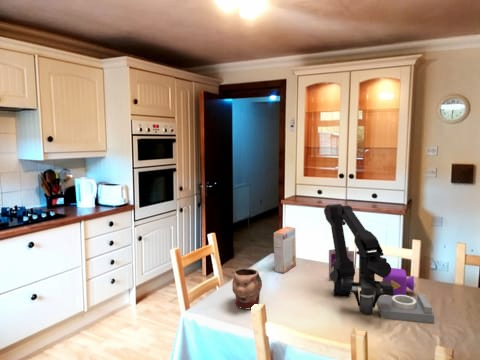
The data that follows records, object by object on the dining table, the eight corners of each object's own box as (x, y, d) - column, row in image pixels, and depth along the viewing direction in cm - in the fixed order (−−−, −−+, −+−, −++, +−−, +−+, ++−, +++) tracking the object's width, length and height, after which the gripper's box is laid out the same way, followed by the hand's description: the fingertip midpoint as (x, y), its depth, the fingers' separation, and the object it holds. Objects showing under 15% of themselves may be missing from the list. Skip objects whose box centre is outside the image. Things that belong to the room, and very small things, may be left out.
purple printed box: (328, 281, 171) (328, 250, 170) (328, 275, 179) (328, 246, 177) (353, 282, 169) (354, 251, 167) (352, 277, 176) (352, 247, 174)
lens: (359, 314, 139) (360, 294, 138) (358, 308, 144) (359, 289, 143) (373, 315, 138) (374, 295, 137) (372, 309, 143) (372, 290, 142)
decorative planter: (237, 292, 162) (236, 262, 160) (264, 293, 160) (264, 263, 158) (228, 313, 142) (227, 279, 140) (259, 315, 140) (258, 280, 138)
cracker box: (286, 263, 197) (286, 226, 195) (296, 265, 194) (296, 227, 191) (273, 271, 186) (272, 231, 183) (283, 273, 182) (283, 233, 180)
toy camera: (418, 298, 152) (419, 275, 150) (383, 296, 154) (384, 273, 153) (411, 288, 162) (412, 266, 161) (379, 286, 165) (379, 265, 164)
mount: (381, 318, 136) (381, 304, 135) (376, 301, 149) (377, 289, 149) (433, 323, 131) (434, 309, 131) (424, 305, 145) (425, 293, 144)
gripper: (342, 274, 133) (341, 314, 135) (396, 277, 129) (395, 319, 130) (341, 263, 144) (341, 301, 146) (391, 267, 139) (390, 305, 141)
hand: (366, 306), depth 141 cm, fingers closed on lens, 5 cm apart
